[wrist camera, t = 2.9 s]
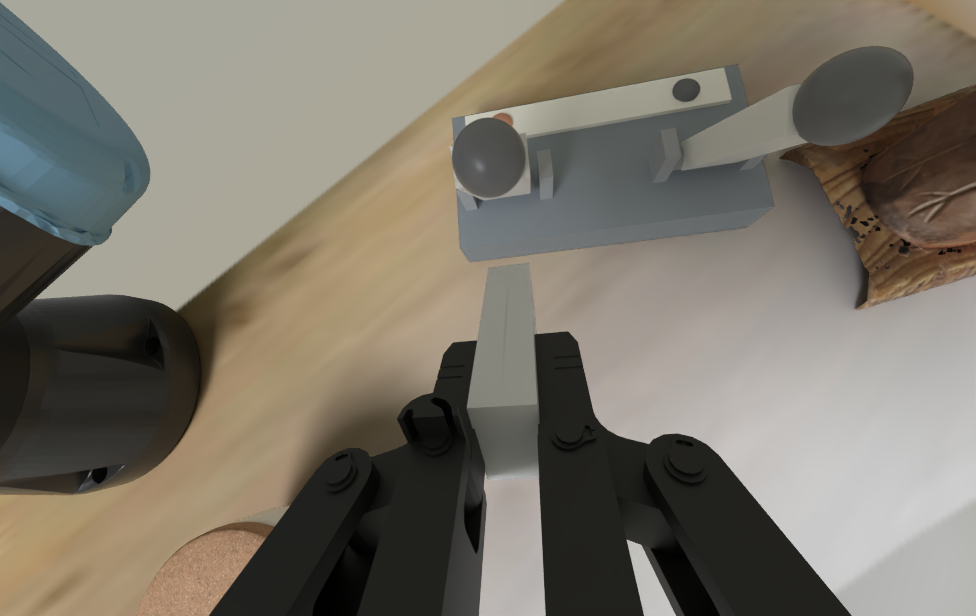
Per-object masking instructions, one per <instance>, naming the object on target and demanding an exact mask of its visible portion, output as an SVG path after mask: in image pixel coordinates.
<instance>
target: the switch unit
mask: <svg viewBox="0 0 976 616" xmlns="http://www.w3.org/2000/svg"><path fill="white" fill-rule="evenodd" d="M747 107H748V103H747V99H746V95H745V91H744V88H743V84H742V80H741V76H740V72H739V68H738V64H736V65H731V66H726V67H721V68H715V69H710V70H705V71H699V72H694V73H689V74H684V75H678V76H673V77H668V78H662V79H657V80H652V81H647V82H641V83H636V84H631V85H625V86H620V87H615V88H610V89H604V90H599V91H594V92H588V93H583V94H578V95H573V96H567V97H562V98H557V99H551V100H546V101H541V102H536V103H530V104H525V105H520V106H514V107H509V108H504V109H499V110H493V111H488V112H483V113H477V114H472V115H467V116H462V117H456V118H452V124H453V141H454V143H455V140H456V138H457V137H458V135H459V133H460V132H461V131H462V130H463V129H464V128H465V127H466V126H467V125H468V124H469V123H471V122H473V121H475V120H477V119H481V118H487V117H488V118H497V119H500V120H503V121H505V122H507V123H508V124H510V125H511V126H512V127H513V128H514V129H515V130H516V131H517V132H518V134H519V133H525V132H526V137H527V147H528V157H529V167H530V169H532V168H533V175H534V185H535V192H530V194H524V195H517V196H511V197H504V198H498V199H491V200H480V199H479V198H477V197H475V196H473V195H470V194H468V193H466V192H463V191H461V190H459V189H456V191H457V208H458V224H459V241H460V249H461V250H462V252H463V253H464V255H465V256H466V258H467V259H468V261H469V262H476V261H484V260H492V259H500V258H508V257H516V256H524V255H532V254H540V253H548V252H556V251H564V250H572V249H580V248H588V247H596V246H604V245H612V244H620V243H628V242H636V241H644V240H652V239H659V238H667V237H675V236H683V235H691V234H699V233H707V232H715V231H723V230H731V229H739V228H746V227H748V226H749V225H750V224H752V223H753V222H754V221H756V220H757V219H758V218H760V217H761V216H762V215H764V214H765V213H767V212H768V211H769V210H771V209H772V208H773V207H775V206H774V203H773V199H772V195H771V191H770V187H769V183H768V180H767V176H766V172H765V168H764V164H763V160H762V159H763V158H764V157H765V156H766V155H767V154H764V155H761V156H757V157H754V158H750V159H747V160H743V161H740V162H736V163H729V164H723V165H716V166H710V167H703V168H696V169H690V170H683V171H681V170H674V171H673V169H674V167H675V166H676V164H677V162H678V161H679V159H680V157H681V152H680V147H679V145H681V142H682V141H684V140H686V139H688V138H690V137H692V136H694V135H696V134H698V133H699V132H701V131H703V130H705V129H707V128H709V127H711V126H713V125H715V124H717V123H719V122H720V121H722V120H724V119H726V118H728V117H730V116H732V115H734V114H736V113H738V112H740V111H742V110H743V109H745V108H747Z"/></svg>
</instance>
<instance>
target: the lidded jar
mask: <svg viewBox="0 0 976 616" xmlns="http://www.w3.org/2000/svg"><path fill="white" fill-rule="evenodd" d="M289 507H290V506H283V507H277V508H272V509H269V510H265V511H262V512H259V513H256V514H253V515H250V516H247V517H245V518H242V519H240V520H238V521H235V522H233V523H230V524H227V525H224V526H221V527H218V528H215V529H213V530H211V531H208V532H206V533H204V534H202V535H200V536H198V537H197V538H195V539H193V540H191V541H189V542H188V543H187V544H185V545H184V546H183V547H181V548H180V549H179V550H178V551H176V552H175V553H174V554H173V555H172V556H171V558H170V559H169V560H168V561H167V562H166V563H165V564H164V565H163V567H162V568H161V569H160V571H159V572H158V573H157V575H156V576H155V578H154V579H153V581H152V582H151V584H150V586H149V588H148V590H147V591H146V593H145V595H144V597H143V599H142V602H141V604H140V607H139V609H138V612H137V614H136V616H209V614H210V613H211V612H212V610H213V609H214V608H215V606H216V605H217V604H218V602H219V601H220V600H221V598H222V597H223V596H224V594H225V593H226V592H227V590H228V589H229V587H230V586H231V585H232V583H233V582H234V581H235V579H236V578H237V577H238V575H239V574H240V573H241V571H242V570H243V569H244V567H245V566H246V565H247V563H248V562H249V561H250V559H251V558H252V556H253V555H254V554H255V552H256V551H257V550H258V548H259V547H260V546H261V544H262V543H263V542H264V540H265V539H266V538H267V536H268V535H269V534H270V532H271V531H272V530H273V528H274V527H275V525H276V524H277V523H278V521H279V520H280V519H281V517H282V516H283V515H284V513H285V512H286V511H287V509H288V508H289Z"/></svg>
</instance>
